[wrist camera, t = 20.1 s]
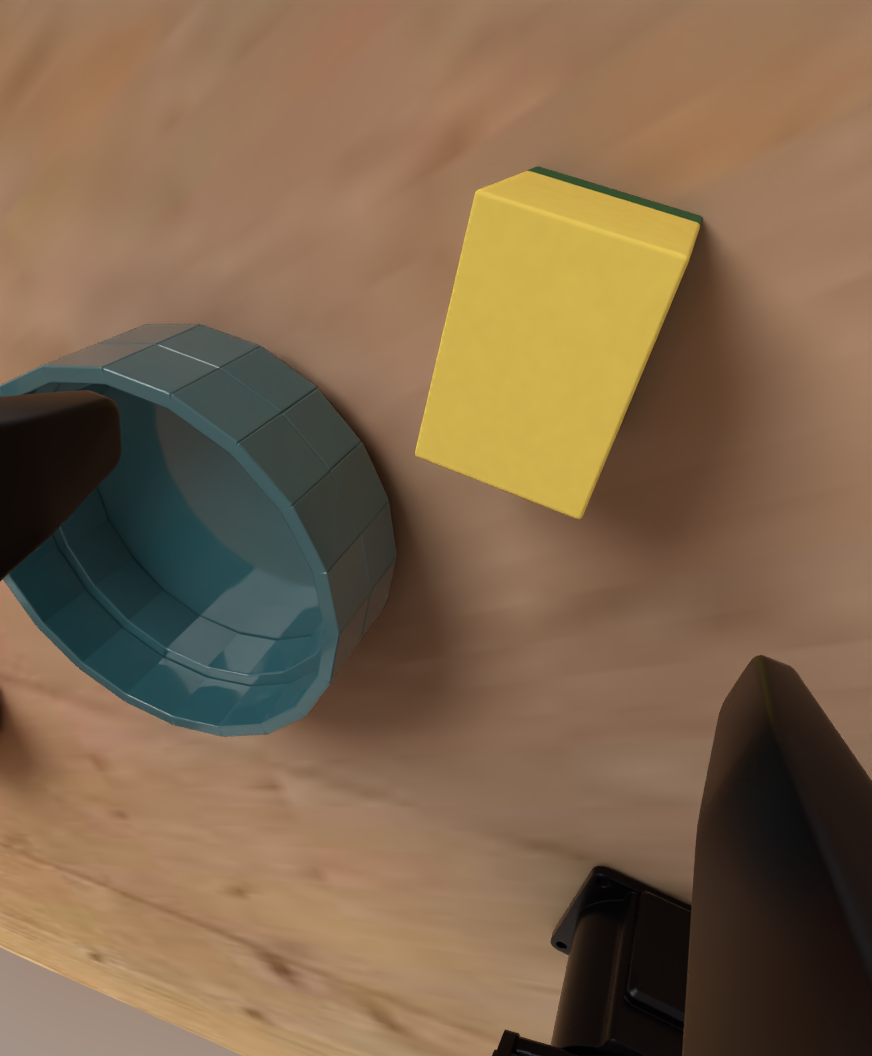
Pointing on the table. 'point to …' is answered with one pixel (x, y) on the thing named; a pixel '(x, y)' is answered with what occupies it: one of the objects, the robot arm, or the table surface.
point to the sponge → (550, 332)
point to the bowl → (212, 534)
